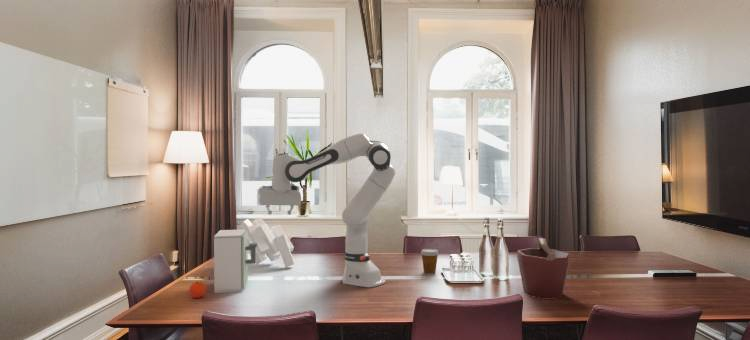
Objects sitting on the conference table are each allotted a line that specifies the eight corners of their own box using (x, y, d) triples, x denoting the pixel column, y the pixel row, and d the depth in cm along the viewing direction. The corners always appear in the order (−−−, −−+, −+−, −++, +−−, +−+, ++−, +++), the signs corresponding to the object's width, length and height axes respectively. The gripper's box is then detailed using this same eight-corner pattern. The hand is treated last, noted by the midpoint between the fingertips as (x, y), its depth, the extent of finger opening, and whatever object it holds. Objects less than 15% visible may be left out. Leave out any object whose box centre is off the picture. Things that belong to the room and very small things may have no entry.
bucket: (565, 305, 182) (565, 245, 182) (511, 297, 193) (511, 241, 192) (570, 290, 203) (571, 237, 203) (522, 283, 214) (522, 233, 214)
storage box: (245, 280, 218) (245, 229, 218) (241, 291, 201) (241, 235, 200) (220, 282, 216) (219, 230, 216) (214, 292, 198) (213, 236, 198)
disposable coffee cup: (418, 273, 233) (418, 251, 233) (423, 269, 242) (423, 248, 242) (436, 275, 230) (436, 252, 230) (440, 271, 239) (440, 249, 238)
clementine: (203, 293, 197) (203, 278, 197) (211, 296, 193) (211, 280, 193) (186, 297, 191) (186, 281, 191) (194, 301, 187) (194, 284, 187)
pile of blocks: (300, 268, 265) (284, 216, 276) (297, 260, 237) (280, 202, 248) (243, 288, 257) (229, 233, 268) (233, 281, 229) (218, 220, 240)
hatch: (258, 278, 220) (258, 229, 220) (255, 288, 202) (255, 235, 201) (245, 278, 219) (245, 230, 219) (242, 289, 200) (241, 236, 200)
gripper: (259, 186, 206) (258, 215, 206) (302, 187, 213) (301, 215, 214) (258, 185, 212) (256, 213, 212) (299, 186, 219) (298, 213, 220)
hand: (279, 214), depth 213 cm, fingers open, 8 cm apart
